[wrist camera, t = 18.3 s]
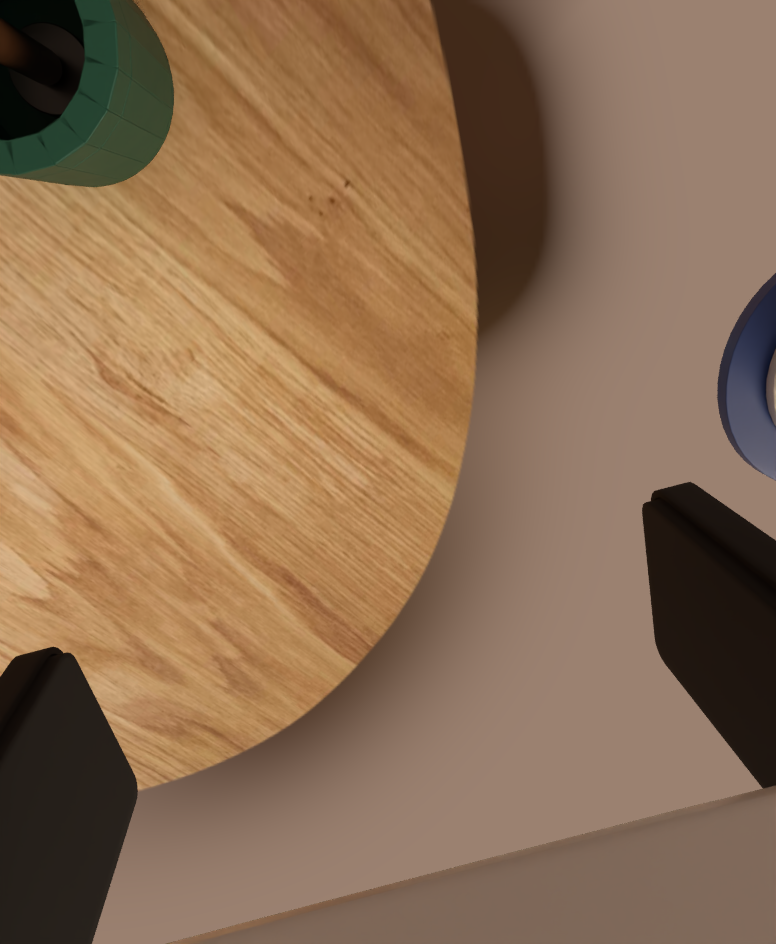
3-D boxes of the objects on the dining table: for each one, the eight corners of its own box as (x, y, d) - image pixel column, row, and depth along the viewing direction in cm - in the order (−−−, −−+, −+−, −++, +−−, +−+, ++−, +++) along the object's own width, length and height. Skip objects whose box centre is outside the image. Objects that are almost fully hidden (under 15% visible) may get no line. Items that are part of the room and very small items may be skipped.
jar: (133, -52, 34) (52, -171, 24) (199, 162, 38) (155, 140, 27) (-61, -4, 34) (-226, -101, 23) (25, 206, 37) (-85, 201, 27)
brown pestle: (93, 29, 34) (-79, -118, 19) (122, 113, 36) (-17, 37, 21) (18, 48, 34) (-212, -85, 19) (50, 131, 36) (-140, 68, 21)
